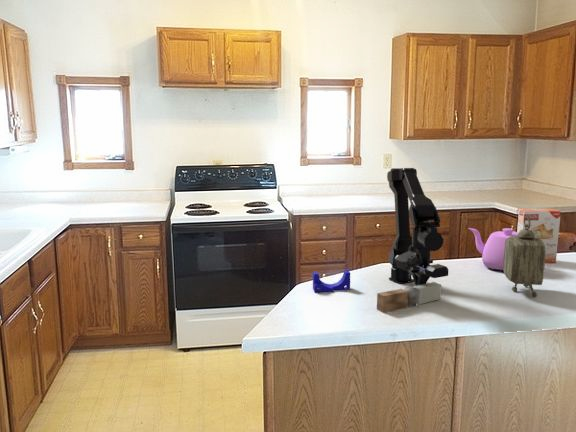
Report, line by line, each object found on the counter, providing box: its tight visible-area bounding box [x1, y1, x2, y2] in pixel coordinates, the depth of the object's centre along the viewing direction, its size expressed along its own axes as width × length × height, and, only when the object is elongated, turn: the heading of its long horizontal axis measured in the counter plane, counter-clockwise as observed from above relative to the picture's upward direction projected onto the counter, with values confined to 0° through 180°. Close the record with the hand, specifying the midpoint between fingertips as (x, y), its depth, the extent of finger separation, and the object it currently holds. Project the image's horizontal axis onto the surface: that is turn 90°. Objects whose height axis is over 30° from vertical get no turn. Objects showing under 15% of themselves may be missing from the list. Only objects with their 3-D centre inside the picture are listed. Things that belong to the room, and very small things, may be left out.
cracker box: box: [516, 208, 562, 264], centre depth 203 cm, size 14×6×21 cm, turn 87°
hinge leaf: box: [403, 281, 442, 305], centre depth 158 cm, size 13×4×5 cm, turn 120°
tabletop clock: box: [503, 215, 546, 298], centre depth 166 cm, size 14×9×25 cm, turn 168°
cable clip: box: [312, 270, 351, 294], centre depth 170 cm, size 12×4×6 cm, turn 96°
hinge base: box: [376, 288, 418, 313], centre depth 153 cm, size 13×4×5 cm, turn 117°
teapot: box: [468, 227, 518, 271], centre depth 198 cm, size 23×21×15 cm
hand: (419, 291), depth 162 cm, fingers closed
